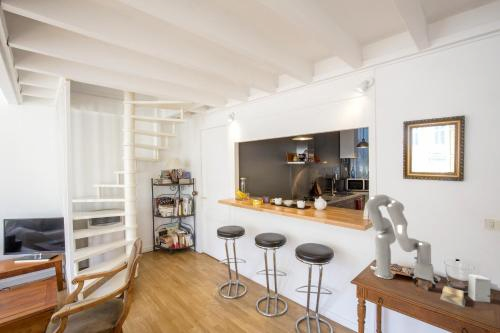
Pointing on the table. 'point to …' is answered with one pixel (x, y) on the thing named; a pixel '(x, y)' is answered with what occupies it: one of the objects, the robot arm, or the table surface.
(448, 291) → the oak block
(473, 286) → the skincare box
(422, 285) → the walnut block
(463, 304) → the blueprint board
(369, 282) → the table surface
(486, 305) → the table surface
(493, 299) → the table surface
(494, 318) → the table surface
